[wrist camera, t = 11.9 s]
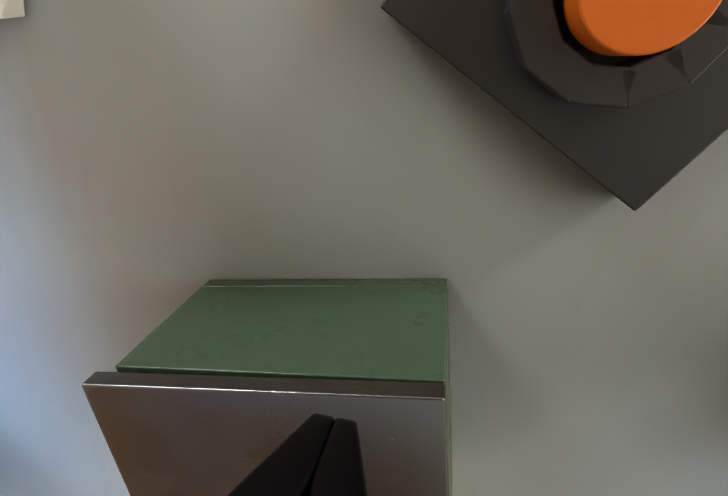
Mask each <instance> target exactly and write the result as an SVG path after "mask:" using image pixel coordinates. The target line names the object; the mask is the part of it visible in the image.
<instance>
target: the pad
mask: <svg viewBox="0 0 728 496" xmlns="http://www.w3.org/2000/svg"><path fill="white" fill-rule="evenodd" d="M381 8H382V9H383V10H384V11H385V12H386V13H388V14H389V15H390V16H391V17H393V18H394V19H395V20H396V21H398V22H399V23H400V24H401V25H403V26H404V27H405V28H406V29H408V30H409V31H410V32H411V33H413V34H414V35H415V36H416V37H418V38H419V39H420V40H421V41H423V42H424V43H425V44H426V45H428V46H429V47H430V48H431V49H433V50H434V51H435V52H436V53H438V54H439V55H440V56H441V57H443V58H444V59H445V60H446V61H448V62H449V63H450V64H451V65H453V66H454V67H455V68H456V69H458V70H459V71H460V72H461V73H463V74H464V75H465V76H466V77H468V78H469V79H470V80H471V81H473V82H474V83H475V84H476V85H478V86H479V87H480V88H481V89H483V90H484V91H485V92H486V93H488V94H489V95H490V96H491V97H493V98H494V99H495V100H496V101H498V102H499V103H500V104H501V105H502V106H504V107H505V108H506V109H507V110H509V111H510V112H511V113H512V114H514V115H515V116H516V117H517V118H519V119H520V120H521V121H522V122H524V123H525V124H526V125H527V126H529V127H530V128H531V129H532V130H534V131H535V132H536V133H537V134H539V135H540V136H541V137H542V138H544V139H545V140H546V141H547V142H549V143H550V144H551V145H552V146H554V147H555V148H556V149H557V150H559V151H560V152H561V153H562V154H564V155H565V156H566V157H567V158H569V159H570V160H571V161H572V162H574V163H575V164H576V165H577V166H579V167H580V168H581V169H582V170H584V171H585V172H586V173H587V174H589V175H590V176H591V177H592V178H594V179H595V180H596V181H597V182H599V183H600V184H601V185H602V186H604V187H605V188H606V189H607V190H609V191H610V192H611V193H612V194H614V195H615V196H616V197H617V198H619V199H620V200H621V201H622V202H624V203H625V204H626V205H627V206H629V207H630V208H631V209H632V210H634V211H636V210H637V209H638V208H639V207H641V206H642V205H643V204H644V203H645V202H646V201H647V200H648V199H650V198H651V197H652V196H653V195H654V194H655V193H656V192H657V191H659V190H660V189H661V188H662V187H663V186H664V185H665V184H666V183H668V182H669V181H670V180H671V179H672V178H673V177H674V176H675V175H677V174H678V173H679V172H680V171H681V170H682V169H683V168H684V167H686V166H687V165H688V164H689V163H690V162H691V161H692V160H693V159H695V158H696V157H697V156H698V155H699V154H700V153H701V152H702V151H704V150H705V149H706V148H707V147H708V146H709V145H710V144H711V143H713V142H714V141H715V140H716V139H717V138H718V137H719V136H720V135H722V134H723V133H724V132H725V131H726V130H727V129H728V0H722V2H721V3H720V5H719V6H718V8H717V9H716V10H715V12H714V13H713V15H712V16H711V17H710V18H709V19H708V20H707V21H706V23H705V24H704V25H703V26H701V27H700V28H699V29H698V30H697V31H696V32H695V33H694V34H692V35H691V36H690V37H688V38H687V39H685V40H684V41H682V42H680V43H679V44H677V45H675V46H673V47H671V48H669V49H666V50H664V51H661V52H658V53H654V54H649V55H642V56H606V55H601V54H598V53H595V52H592V51H590V50H588V49H587V48H585V47H584V46H582V45H581V44H580V43H579V42H578V41H577V40H576V39H575V38H574V36H573V35H572V34H571V32H570V30H569V28H568V26H567V23H566V20H565V17H564V12H563V0H384V2H383V3H382V5H381Z"/></svg>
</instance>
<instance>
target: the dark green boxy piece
mask: <svg viewBox="0 0 728 496" xmlns="http://www.w3.org/2000/svg"><path fill="white" fill-rule="evenodd" d="M116 369H117V371H118V372H126V373H157V374H188V375H219V376H250V377H281V378H311V379H342V380H373V381H404V382H435V383H444V385H445V397H446V426H447V456H448V485H449V496H452V436H451V401H450V365H449V330H448V295H447V279H283V280H209V281H208V282H207V283H206V284H205V285H204V286H203V287H201V288H200V289H199V290H198V291H197V292H196V293H195V294H194V295H193V296H192V297H191V298H189V299H188V300H187V301H186V302H185V303H184V304H183V305H182V306H181V307H180V308H179V309H177V310H176V311H175V312H174V313H173V314H172V315H171V316H170V317H169V318H168V319H167V320H165V321H164V322H163V323H162V324H161V325H160V326H159V327H158V328H157V329H156V330H154V331H153V332H152V333H151V334H150V335H149V336H148V337H147V338H146V339H145V340H144V341H142V342H141V343H140V344H139V345H138V346H137V347H136V348H135V349H134V350H133V351H132V352H130V353H129V354H128V355H127V356H126V357H125V358H124V359H123V360H122V361H121V362H120V363H118V364H117V365H116Z"/></svg>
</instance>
